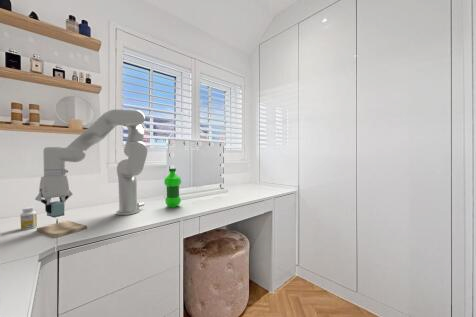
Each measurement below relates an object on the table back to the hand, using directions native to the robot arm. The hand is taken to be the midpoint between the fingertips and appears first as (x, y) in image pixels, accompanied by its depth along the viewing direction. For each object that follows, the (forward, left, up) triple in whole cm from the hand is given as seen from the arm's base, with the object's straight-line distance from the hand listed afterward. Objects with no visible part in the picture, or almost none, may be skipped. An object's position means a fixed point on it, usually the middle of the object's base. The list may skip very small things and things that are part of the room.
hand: (55, 211), depth 99 cm
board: (0, +6, -8) cm, 10 cm away
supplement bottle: (+6, -12, -8) cm, 16 cm away
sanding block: (0, 0, -2) cm, 2 cm away
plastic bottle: (-54, +21, -8) cm, 59 cm away
